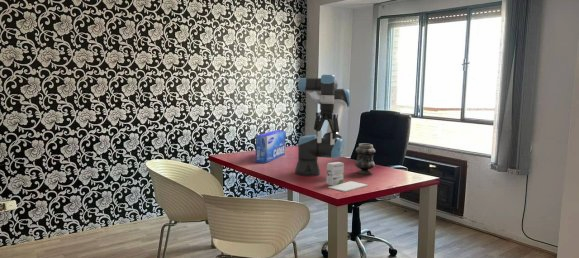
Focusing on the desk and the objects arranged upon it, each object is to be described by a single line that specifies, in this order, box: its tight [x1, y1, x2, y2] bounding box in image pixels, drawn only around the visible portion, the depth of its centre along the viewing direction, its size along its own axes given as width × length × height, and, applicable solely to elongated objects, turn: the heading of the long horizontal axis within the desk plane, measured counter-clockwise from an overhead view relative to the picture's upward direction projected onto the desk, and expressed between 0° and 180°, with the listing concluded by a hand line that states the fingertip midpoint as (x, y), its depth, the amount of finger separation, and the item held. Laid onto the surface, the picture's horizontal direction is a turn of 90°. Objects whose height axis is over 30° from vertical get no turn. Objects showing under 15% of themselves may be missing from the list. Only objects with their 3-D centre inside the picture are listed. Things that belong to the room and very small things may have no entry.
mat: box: [327, 180, 368, 193], centre depth 234 cm, size 11×20×1 cm, turn 136°
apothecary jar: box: [354, 142, 376, 176], centre depth 269 cm, size 12×12×18 cm
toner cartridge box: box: [254, 130, 287, 164], centre depth 313 cm, size 39×8×18 cm, turn 161°
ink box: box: [326, 161, 345, 186], centre depth 240 cm, size 8×5×12 cm, turn 125°
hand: (325, 143), depth 243 cm, fingers open, 9 cm apart
